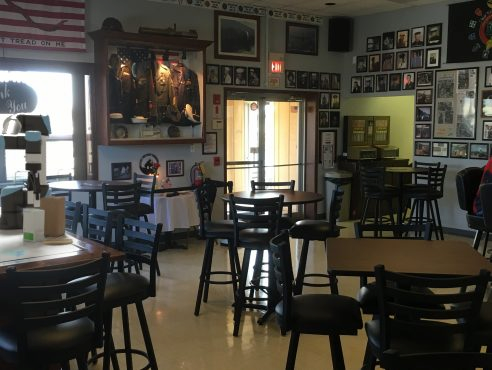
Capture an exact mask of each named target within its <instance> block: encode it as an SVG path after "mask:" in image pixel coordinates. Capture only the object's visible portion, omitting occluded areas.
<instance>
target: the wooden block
mask: <svg viewBox="0 0 492 370" xmlns="http://www.w3.org/2000/svg"><path fill="white" fill-rule="evenodd" d="M39 209H40V210H45V214H44V237H53V236H58V237H60V236H63V235H65V234H66V196H55V195H54V196H53V195H51V196H48V197H44V198H41V199H40V208H39Z"/></svg>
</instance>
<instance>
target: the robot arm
mask: <svg viewBox="0 0 492 370" xmlns="http://www.w3.org/2000/svg"><path fill="white" fill-rule="evenodd" d="M2 129H3V130H2V132H1V133H0V150H3V151H4V150H9V151H10V150H11V151H13V150H18V151H21V150H22V151H25V152H24V156H23V158H25V162H26V163H24V165H25V166H24V169H25V171H27V180H26V187H24V185H23V184H21V185H11V186H5V187H3V188H1V190H0V230H21V229H23V217H24V209H32V208H34V209H40V199H41V198H44V197H48V196H52V191H53V189H52V187H50V184H49V183H48V182H47V140H48V139H49V138H50V135H51V134H52V128H51V120H50V116H49V114H48V113H40V112H39V113H37V112H36V113H33V112H18V113H14V114H11V115H10V116H8V117H6V118H5V119H4V121H3V123H2Z"/></svg>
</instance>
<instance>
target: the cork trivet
mask: <svg viewBox="0 0 492 370" xmlns="http://www.w3.org/2000/svg"><path fill="white" fill-rule="evenodd" d="M73 241H74V239H73V238H69V237H51V238H49V237H48V238H44V240H43V241H42V244H43V245H47V246H64V244H65V245H69V243H70V244H72V243H73Z"/></svg>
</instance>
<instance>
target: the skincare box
mask: <svg viewBox="0 0 492 370" xmlns="http://www.w3.org/2000/svg"><path fill="white" fill-rule="evenodd" d="M23 213H24V217H23V228H22V241H26V242H32V243H38V242H43V241H42V240H45V236H44V214H45V210H40V208H29V209H23Z"/></svg>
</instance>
